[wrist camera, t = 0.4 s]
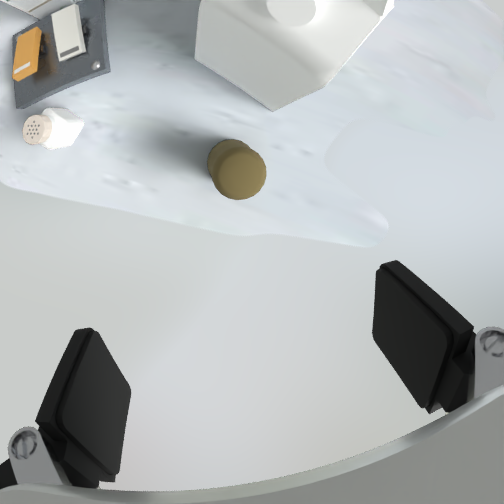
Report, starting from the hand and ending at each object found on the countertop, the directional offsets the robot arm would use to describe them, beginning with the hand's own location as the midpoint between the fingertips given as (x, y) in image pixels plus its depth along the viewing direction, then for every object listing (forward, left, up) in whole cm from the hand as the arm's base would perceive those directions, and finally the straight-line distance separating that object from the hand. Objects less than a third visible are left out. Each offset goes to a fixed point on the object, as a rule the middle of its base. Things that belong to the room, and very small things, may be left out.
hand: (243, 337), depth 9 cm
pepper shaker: (-2, +2, -31) cm, 31 cm away
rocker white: (-24, -14, -27) cm, 38 cm away
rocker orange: (-24, -21, -27) cm, 41 cm away
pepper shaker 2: (-12, -18, -31) cm, 37 cm away
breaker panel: (-24, -18, -31) cm, 42 cm away
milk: (-16, +8, -31) cm, 36 cm away
